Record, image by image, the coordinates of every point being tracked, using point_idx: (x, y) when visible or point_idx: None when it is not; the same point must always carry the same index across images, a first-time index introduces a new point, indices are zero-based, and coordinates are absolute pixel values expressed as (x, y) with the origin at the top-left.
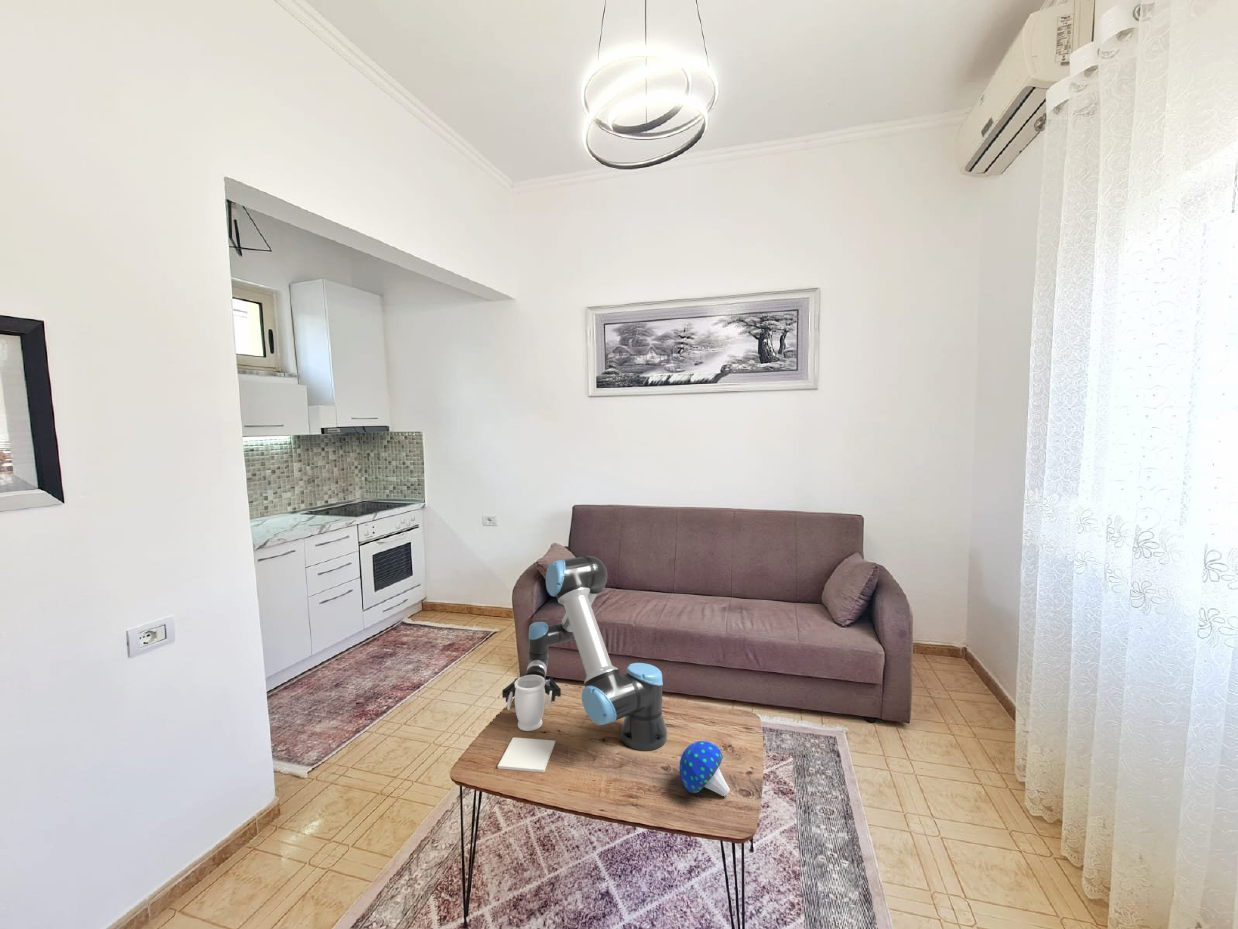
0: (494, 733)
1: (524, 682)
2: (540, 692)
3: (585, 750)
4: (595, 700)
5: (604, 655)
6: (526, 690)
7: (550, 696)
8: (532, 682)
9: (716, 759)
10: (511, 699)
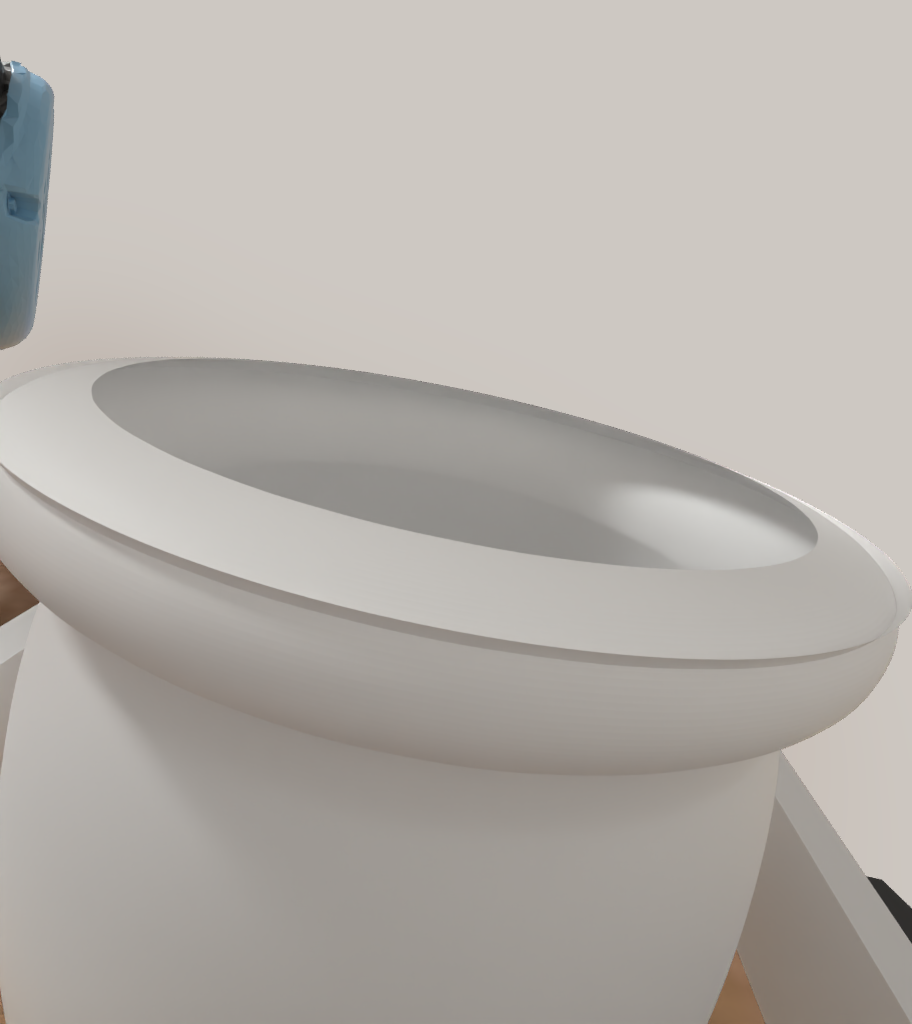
0: (742, 982)
1: (681, 856)
2: (262, 477)
3: (17, 603)
4: (50, 157)
5: None
6: (500, 407)
7: (10, 628)
8: (316, 929)
9: None
10: (784, 942)
